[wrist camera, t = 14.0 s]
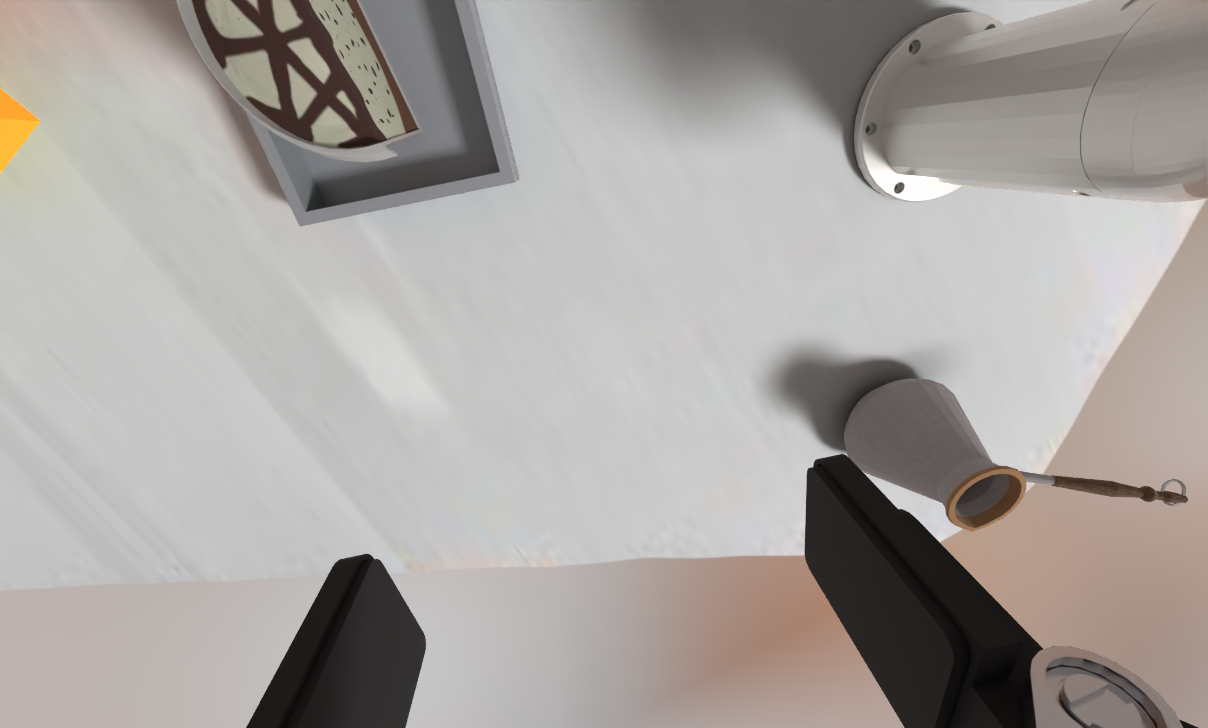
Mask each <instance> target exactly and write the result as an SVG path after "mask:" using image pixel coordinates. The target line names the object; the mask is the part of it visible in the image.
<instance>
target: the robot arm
mask: <svg viewBox="0 0 1208 728" xmlns="http://www.w3.org/2000/svg"><path fill="white" fill-rule="evenodd" d="M854 148H855V155H856V159H857V162H858V166H859V168H860V170H861V172H862V174H863V176H864V178H865V179H866V181H867V182H868V183H869V184H870V185H871V186H872V188H873V189H875V190H876V191H878V192H879V193H881V194H882V195H884V196H886V197H889V198H892V199H895V200H901V201H907V202H923V201H928V200H933V199H937V198H939V197H942V196H944V195H947V194H949V193H951V192H953V191H955V190H956V189H958V188H960V187H961V186H972V187H983V188H994V189H1006V190H1017V191H1028V192H1040V193H1051V194H1062V195H1073V196H1085V197H1096V198H1107V199H1119V200H1133V201H1145V202H1183V201H1194V200H1200V199H1206V198H1208V0H1092V1H1089V2H1085V3H1082V4H1078V5H1074V6H1071V7H1067V8H1064V9H1060V10H1056V11H1053V12H1049V13H1046V14H1042V15H1039V16H1035V17H1031V18H1028V19H1024V20H1021V21H1017V22H1013V23H1010V24H1006V25H1003V24H1002V23H1001V22H1000V21H998V20H996V19H994V18H992V17H990V16H988V15H986V14H981V13H975V12H964V13H954V14H951V15H947V16H944V17H941V18H938V19H935V20H933V21H931V22H928V23H926V24H924V25H921V26H920V27H918V28H917V29H915V30H914V31H912V32H911V33H909V34H908V35H906V36H905V37H904V38H903V39H902V40H901V41H900V42H899V43H897V44H896V45H895V46H894V47H893V48H892V49H891V50H890V51H889V53H888V54H887V55H886V56H885V58H884V59H883V60H882V61H881V62H880V64H879V65H878V66H877V68H876V70H875V72H874V73H873V75H872V77H871V78H870V80H869V82H868V83H867V86H866V88H865V91H864V93H863V95H862V98H861V100H860V103H859V107H858V111H857V115H856V119H855V128H854ZM805 558H806V562H807V564H808V567H809V569H810V571H811V573H812V574H813V576H814V578H815V579H816V581H817V583H818V584H819V586H820V588H821V589H822V591H823V593H824V594H825V596H826V598H827V599H828V601H829V602H830V604H831V606H832V607H833V609H834V611H835V612H836V614H837V616H838V618H839V619H840V621H841V623H842V624H843V626H844V627H845V629H846V631H847V633H848V634H849V636H850V638H851V639H852V641H853V643H854V644H855V646H856V647H857V649H858V651H859V652H860V654H861V656H862V657H863V659H864V661H865V662H866V664H867V666H868V667H869V669H870V671H871V672H872V674H873V676H874V677H875V679H876V681H877V682H878V684H879V686H880V687H881V689H882V691H883V692H884V694H885V696H886V697H887V699H888V701H889V702H890V704H891V706H892V707H893V709H894V711H895V712H896V714H897V716H898V717H899V719H900V721H901V722H902V724H903V725H904V727H905V728H1198V727H1195V726H1193V725H1191V724H1188V723H1186V722H1184V721H1181V720H1179V719H1178V717H1177V715H1176V713H1175V712H1174V711H1173V709H1172V708H1171V707H1170V706H1169V705H1168V704H1167V702H1166V701H1165V700H1164V699H1163V698H1162V697H1161V696H1160V695H1159V693H1158V692H1156V691H1155V690H1154V689H1153V688H1152V687H1150V686H1149V685H1148V684H1147V683H1146V682H1144V681H1143V680H1142V679H1141V678H1140V677H1138V676H1137V675H1135V674H1134V673H1132V672H1130V671H1129V670H1127V669H1125V668H1124V667H1122V666H1121V665H1119V664H1117V663H1116V662H1114V661H1112V660H1109V659H1107V658H1105V657H1102V656H1100V655H1098V654H1096V653H1093V652H1090V651H1086V650H1082V649H1078V648H1074V647H1065V646H1052V647H1049V648H1046V649H1043V648H1042V647H1041V646H1040V645H1039V644H1038V643H1037V642H1036V641H1035V640H1034V639H1033V638H1032V637H1031V636H1030V635H1029V634H1028V633H1027V632H1026V631H1025V630H1024V629H1023V628H1022V627H1021V626H1020V625H1019V624H1018V623H1017V622H1016V621H1015V620H1014V619H1013V617H1012V616H1011V615H1010V614H1009V613H1008V612H1007V611H1006V610H1005V609H1004V608H1003V607H1002V606H1001V605H1000V604H999V603H998V602H997V601H996V600H995V599H994V598H993V597H992V596H991V595H990V594H989V593H988V592H987V591H986V590H985V589H984V588H983V587H982V586H981V585H980V584H979V583H978V582H977V581H976V580H975V578H974V577H973V576H972V575H970V573H969V572H968V571H967V570H966V569H965V568H964V567H963V566H962V565H961V564H960V563H959V562H958V561H957V560H956V559H955V558H954V557H953V556H952V555H951V554H950V553H949V552H948V551H947V550H946V549H945V548H944V547H943V546H942V545H941V544H940V543H939V541H938V540H937V539H936V538H935V537H934V536H933V535H932V534H931V533H930V532H929V531H928V530H927V529H926V528H925V527H924V526H923V525H922V524H921V523H920V522H919V521H918V520H917V519H916V518H915V517H914V516H913V515H911V514H910V513H909V512H907V511H905V510H903V509H897V508H896V507H895V506H894V505H893V504H892V502H891V501H890V500H889V499H888V498H887V497H886V496H885V495H884V494H883V493H882V492H881V491H880V490H879V489H878V488H877V487H876V486H875V485H874V483H873V482H872V481H871V480H870V479H869V478H868V477H867V476H866V475H865V474H864V473H863V472H862V471H861V470H860V469H859V468H858V467H857V466H856V465H855V463H854V462H853V461H852V460H851V459H850V458H849V457H847V456H846V455H844V454H840V455H835V456H831V457H826V458H821V459H817V460H815V462H814V466H813V467H812V468H809V469H808V470H807V492H806V525H805ZM425 649H426V639H425V635H424V633H423V631H422V629H421V628H420V626H419V624H418V623H417V621H416V619H415V618H414V616H413V614H412V613H411V611H410V609H409V607H408V606H407V604H406V602H405V601H404V599H403V597H402V596H401V594H400V592H399V591H398V589H397V587H396V586H395V584H394V582H393V580H392V579H391V577H390V575H389V574H388V572H387V570H386V569H385V567H384V565H383V564H382V562H381V561H380V560H379V559H374V558H373V557H372V556H371V555H369V554H364V555H359V556H354V557H350V558H345V559H340V560H338V561H337V562H336V563H335V564H334V566H333V567H332V569H331V571H330V573H329V575H328V577H327V578H326V580H325V582H324V584H323V586H322V588H321V590H320V592H319V593H318V595H317V597H316V599H315V601H314V603H313V605H312V606H311V608H310V610H309V612H308V614H307V616H306V618H305V619H304V621H303V623H302V625H301V627H300V629H299V631H298V632H297V634H296V636H295V638H294V640H293V642H292V644H291V645H290V647H289V649H288V651H287V653H286V655H285V657H284V659H283V660H282V662H281V664H280V666H279V668H278V670H277V672H276V674H275V675H274V677H273V679H272V681H271V683H270V685H269V686H268V688H267V690H266V692H265V694H264V696H263V698H262V699H261V701H260V704H259V705H258V707H257V709H256V711H255V712H254V715H253V716H252V718H251V720H250V722H249V724H248V725H247V727H246V728H405V727H406V723H407V719H408V715H409V711H410V707H411V704H412V700H413V696H414V692H415V689H416V685H417V681H418V677H419V673H420V670H421V666H422V661H423V658H424V654H425Z"/></svg>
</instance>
